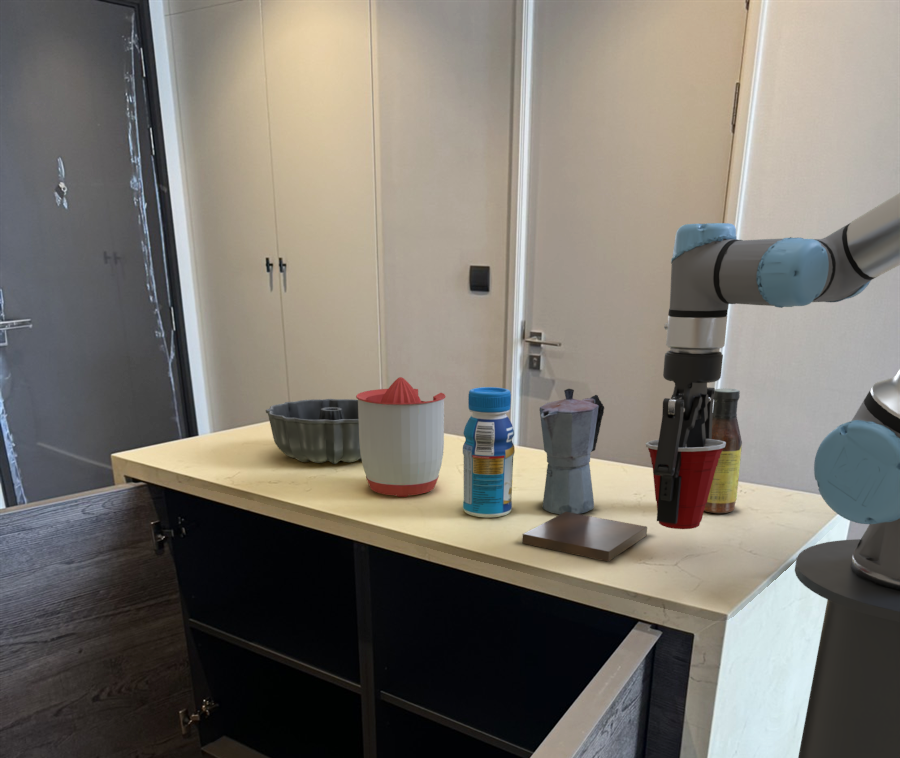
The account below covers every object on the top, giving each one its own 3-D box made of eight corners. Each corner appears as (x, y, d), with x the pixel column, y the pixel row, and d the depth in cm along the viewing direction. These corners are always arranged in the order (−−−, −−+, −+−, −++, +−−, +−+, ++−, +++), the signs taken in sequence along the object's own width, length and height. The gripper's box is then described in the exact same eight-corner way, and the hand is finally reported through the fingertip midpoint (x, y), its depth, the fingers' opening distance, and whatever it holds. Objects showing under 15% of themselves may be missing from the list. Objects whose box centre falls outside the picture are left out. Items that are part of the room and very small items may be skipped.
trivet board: (646, 535, 133) (647, 526, 132) (608, 561, 122) (609, 551, 121) (565, 520, 140) (565, 511, 139) (522, 543, 129) (522, 533, 128)
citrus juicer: (469, 486, 159) (470, 375, 151) (402, 506, 147) (400, 387, 139) (409, 472, 168) (407, 367, 161) (341, 489, 157) (336, 377, 149)
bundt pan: (363, 437, 198) (361, 393, 194) (419, 461, 177) (418, 412, 173) (252, 450, 185) (248, 403, 182) (298, 477, 165) (295, 425, 161)
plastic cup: (689, 510, 130) (697, 430, 125) (733, 529, 120) (743, 444, 116) (625, 517, 127) (631, 435, 122) (665, 538, 117) (672, 450, 113)
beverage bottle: (451, 510, 145) (452, 389, 137) (490, 501, 150) (493, 384, 142) (483, 522, 139) (486, 396, 131) (522, 513, 143) (527, 390, 136)
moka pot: (517, 511, 144) (521, 390, 137) (571, 493, 155) (578, 379, 147) (564, 523, 138) (571, 396, 131) (617, 503, 149) (626, 385, 141)
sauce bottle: (742, 510, 145) (759, 390, 137) (718, 517, 142) (734, 394, 134) (711, 502, 150) (725, 385, 142) (687, 507, 147) (700, 389, 139)
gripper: (694, 342, 125) (680, 494, 133) (635, 356, 108) (623, 528, 117) (746, 344, 121) (728, 500, 129) (693, 359, 104) (677, 537, 113)
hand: (679, 513), depth 123 cm, fingers closed on plastic cup, 9 cm apart
